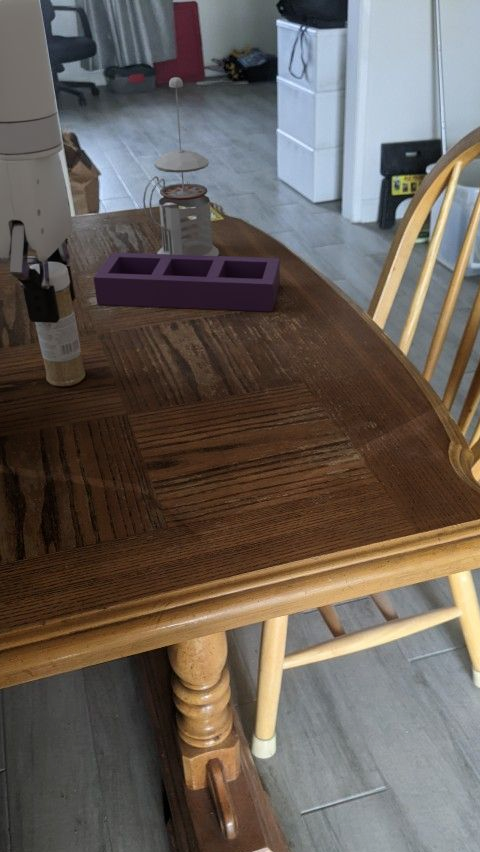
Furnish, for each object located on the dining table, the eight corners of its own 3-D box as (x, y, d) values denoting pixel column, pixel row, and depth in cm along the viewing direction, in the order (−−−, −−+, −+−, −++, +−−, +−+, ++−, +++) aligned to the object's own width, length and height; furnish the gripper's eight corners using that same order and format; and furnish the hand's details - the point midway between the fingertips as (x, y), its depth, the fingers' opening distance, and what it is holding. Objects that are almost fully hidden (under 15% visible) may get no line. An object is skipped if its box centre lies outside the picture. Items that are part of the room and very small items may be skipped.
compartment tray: (273, 312, 105) (272, 283, 103) (97, 304, 108) (93, 277, 105) (279, 284, 113) (279, 258, 110) (115, 278, 115) (111, 252, 113)
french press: (231, 254, 122) (225, 77, 107) (170, 273, 116) (154, 89, 101) (195, 237, 128) (184, 68, 113) (135, 254, 122) (115, 78, 107)
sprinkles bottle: (77, 365, 94) (58, 256, 86) (91, 381, 91) (73, 270, 83) (40, 375, 92) (17, 265, 84) (53, 392, 89) (31, 279, 81)
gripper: (15, 114, 82) (46, 279, 93) (-56, 157, 69) (-10, 344, 80) (84, 115, 81) (107, 281, 92) (27, 159, 68) (61, 347, 79)
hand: (53, 308), depth 86 cm, fingers closed on sprinkles bottle, 4 cm apart
